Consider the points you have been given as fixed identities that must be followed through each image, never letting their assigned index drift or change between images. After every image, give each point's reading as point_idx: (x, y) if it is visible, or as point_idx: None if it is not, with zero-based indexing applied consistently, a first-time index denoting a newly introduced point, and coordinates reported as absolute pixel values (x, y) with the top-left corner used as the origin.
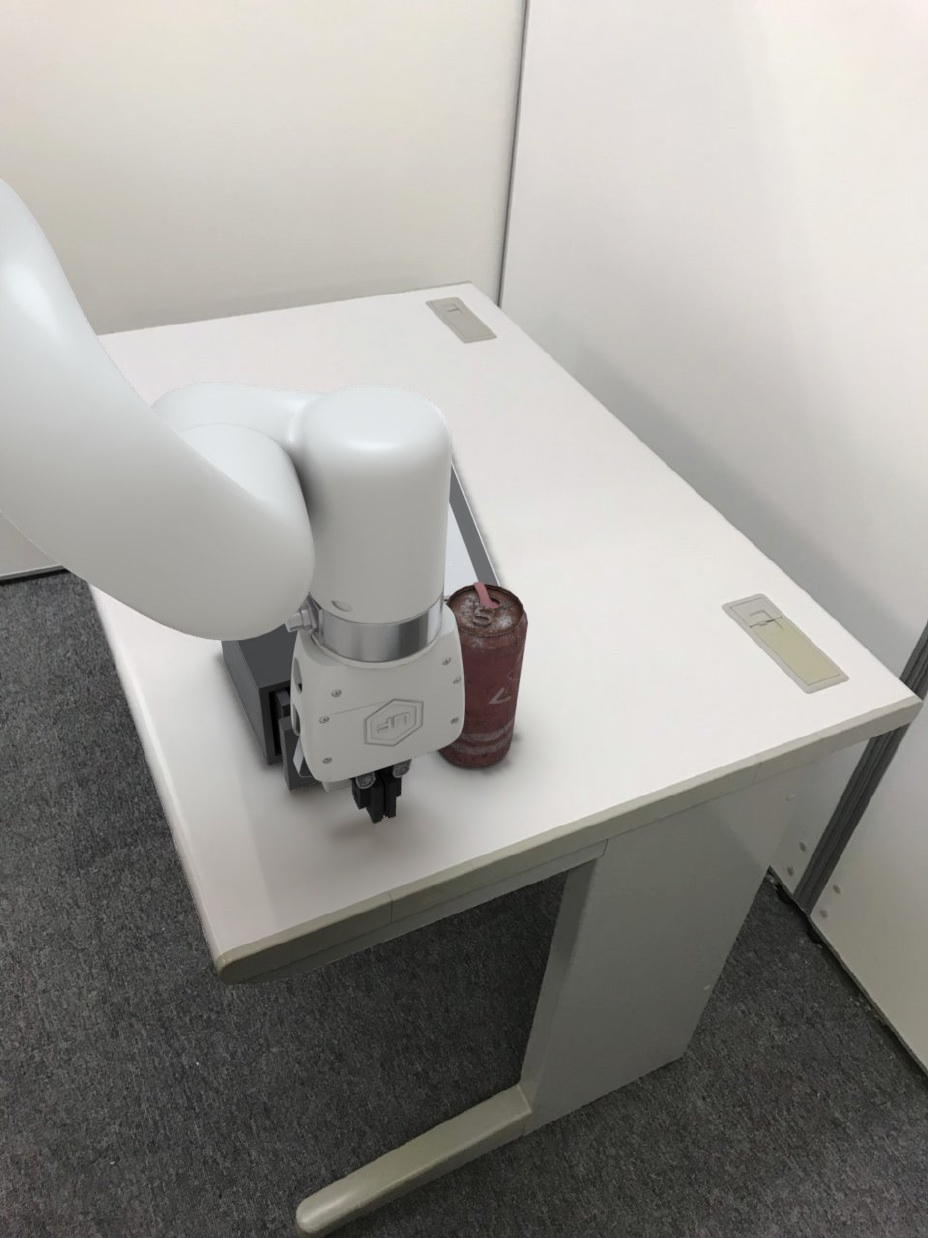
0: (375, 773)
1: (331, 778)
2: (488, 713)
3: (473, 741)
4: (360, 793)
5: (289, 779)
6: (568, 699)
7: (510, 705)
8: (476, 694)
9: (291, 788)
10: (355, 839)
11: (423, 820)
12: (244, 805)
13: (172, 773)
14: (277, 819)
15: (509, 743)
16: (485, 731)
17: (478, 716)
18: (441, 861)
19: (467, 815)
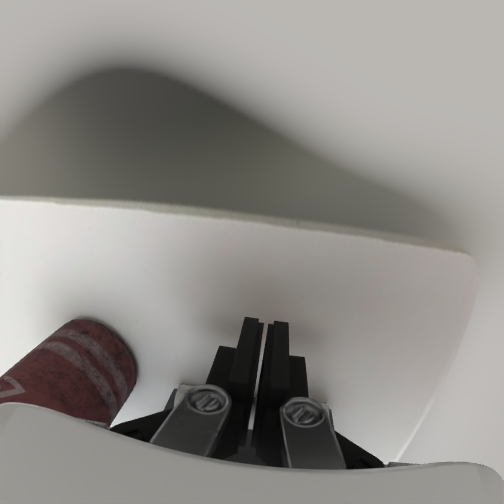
0: (268, 420)
1: (478, 475)
2: (37, 378)
3: (83, 356)
4: (306, 387)
5: (332, 425)
6: (13, 333)
7: (14, 367)
8: None
9: (329, 412)
10: (293, 321)
11: (195, 300)
12: (374, 409)
13: (399, 450)
14: (357, 384)
15: (59, 328)
16: (59, 358)
17: (51, 384)
18: (204, 230)
19: (140, 275)
